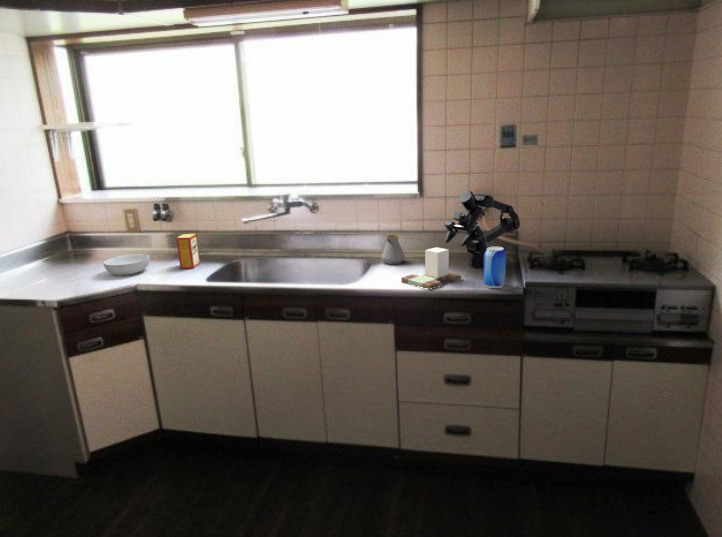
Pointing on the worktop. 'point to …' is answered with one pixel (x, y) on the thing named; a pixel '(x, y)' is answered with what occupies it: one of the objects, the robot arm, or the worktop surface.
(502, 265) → the beer can
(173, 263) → the worktop surface
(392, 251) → the coffee pot
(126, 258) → the serving bowl
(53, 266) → the worktop surface
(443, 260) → the cream block
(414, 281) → the green pad
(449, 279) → the walnut trap board
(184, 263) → the baking soda box
